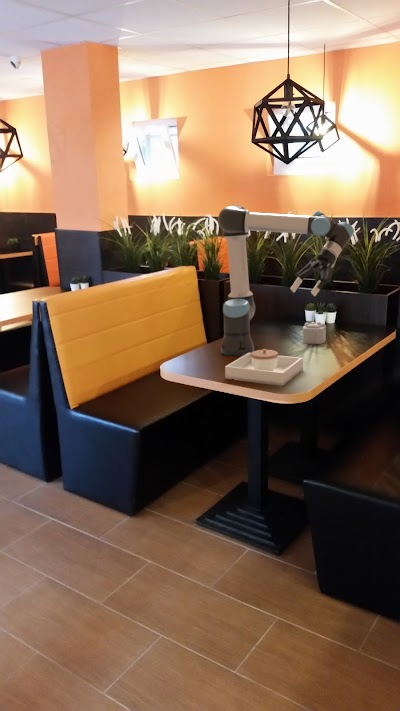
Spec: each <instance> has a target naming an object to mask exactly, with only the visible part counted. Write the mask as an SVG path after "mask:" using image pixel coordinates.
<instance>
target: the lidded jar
mask: <svg viewBox="0 0 400 711" xmlns="http://www.w3.org/2000/svg"><path fill="white" fill-rule="evenodd" d="M278 356H279V352H278V351H276V350H273V349H266V348H263V349H258V350H254V351H253V352H252V353H251V361H252V365H253V368H254V369H258V370H267V371H273V370H274V369H275V368H276V366H277V362H278Z"/></svg>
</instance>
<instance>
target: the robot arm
mask: <svg viewBox="0 0 400 711" xmlns="http://www.w3.org/2000/svg"><path fill="white" fill-rule="evenodd" d="M217 222H218V226H219V227H220V229H221V231H222V236H223V238H224V239H225V241H226V245H227V256H228V258H227V259H228V268H229V269H228V270H229V271H228V272H229V282H230V283H229V284H230V293H229V294H228V295H227V296H228V297H227V299H228V300H226V301H225V302H224V303H223V305H222V306H223V307H222V314H223V332H224V333H223V340H222V343H221V346H220V353H221V354H222V355H224V356H233V357H239V356H240V357H242V356H244V355H245V354H247V353H252V352H253V351H255V346H254V343H253V340H252V338H251V337H252V336H251V334H250V333H251V330H250V329H251V328H250V327H251V326H250V322H251V320H252V318H253V317H254V315H255V313H256V304H255V301H254V294H253V292H252V291H251V290H250V281H249V267H248V255H247V237H249V232H250V231H255V232H269V233H286V234H303V235H304V234H305V235H312V236H313V235H315V236H319V237H320V236H323V237H325V238H326V239H328V240H327V241H326V243H325V244H324V245H323V247H322V249H321V250H320V251H319V253H318V254H317V257H316V258H317V259H316V260H315V261H314V260H313V259H311V260H309V262H308V263H307V264H305V265H304V266H303V267H302V268H301V269H300V270H298V272H296V273H295V277H296V279H294V282H293V284H292V286H290V287H289V288H290V291H291V292H292V293H296V291H297V290H298V288H299V287H300V285H301V284H302V282H303V280H304V279H305V278H307V277H309V276H310V275H312V274H315V273H320V279H319V280H318V281H317V282H316V284H315V286H314V287H313V288H312V290H310V293H311V294H312V296H314V297H316V296H317V294H318V293H319V292H320V290H322V288H323V287H324V285H326V284H330V283H331V280H332V278H333V277H332V276H333V273H334V272H333V271H334V269H335V267H336V265H335V264H334V263H335V262H336V259H337V258H338V257H339V255H340V254H341V252H343V250H344V249H345V247H346V246H347V244H348V243H349V241H350V240H351V238H352V237H353V235H354V232H355V229H354V227H353V226H352V225H351V224H350V223H349V222H348V223H347V222H346V221H341V222H340V223H337V222H335V221H334V220H333V219H331V217H329V216H328V215H326V214H324V213H323V212H321V211H319V210H315V211H314V213H313V214H312V215H302V214H301V215H300V214H299V215H297V214H282V213H281V214H280V213H269V212H267V213H265V212H264V213H263V212H251V210H249V209H246V208H245V207H243V206H241V205H238V204H232V205H229V206H225V207H224V208H223V209H221V210H220V212H219V214H218V217H217Z"/></svg>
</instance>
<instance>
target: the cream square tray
mask: <svg viewBox="0 0 400 711" xmlns="http://www.w3.org/2000/svg"><path fill="white" fill-rule="evenodd" d="M303 370H304V358H303V357H298V356H297V357H296V356H287V355H286V356H285V355H278V362H277V366H276V368H275V369H274V370H273V371H267V370H258V369H254V368H253V365H252V361H251V353H247V354H245V355H243V356H240V357H239V358H237V359H236V360H234V361H232V362H230V363H229V364H227V365H225V366H224V371H225V375H224V376H225V379H226V380H232V379H234V380H233V381H241V382H247V383H248V382H249V383H250V382H251V383H254V384H255V383H256V384H264V385H272V386H273V385H274V386H279V387H281V386H282V387H283V386H285V385H286V384H287V383H289V381H291V380H292V379H294V378H295V377H296V376H297V375H298V374H300V373H301V372H302V371H303ZM299 372H300V373H299Z"/></svg>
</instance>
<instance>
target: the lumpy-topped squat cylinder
mask: <svg viewBox="0 0 400 711" xmlns="http://www.w3.org/2000/svg"><path fill="white" fill-rule="evenodd" d="M326 330H327V326H326V324H325V323H322V322H321V321H317V322H316V321H311V322H305V323H304V325H303V327H302V343H303V344H314V345H315V344H317V345H321V344H324V343H325V342H326V340H327V338H326V336H327V331H326Z"/></svg>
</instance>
